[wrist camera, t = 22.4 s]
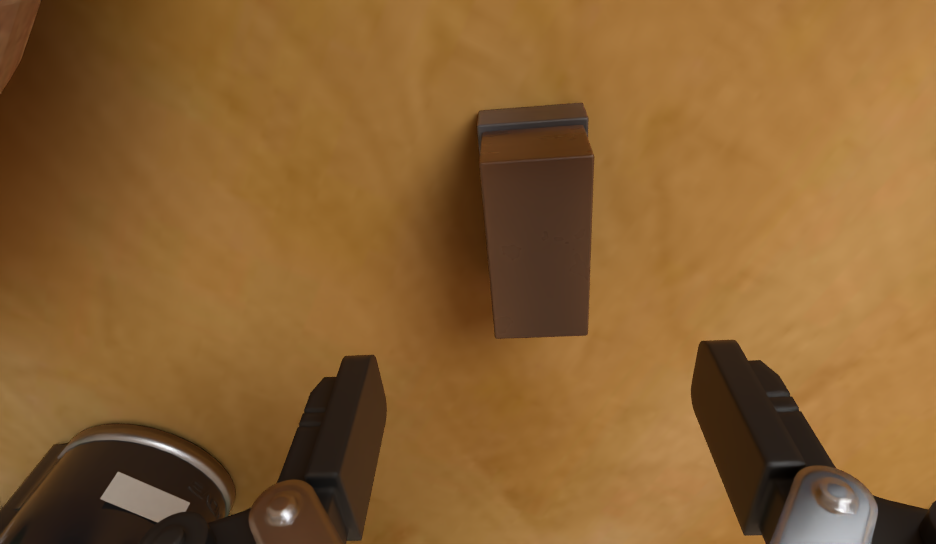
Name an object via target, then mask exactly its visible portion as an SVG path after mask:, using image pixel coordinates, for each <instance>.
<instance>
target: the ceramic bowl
mask: <svg viewBox="0 0 936 544" xmlns="http://www.w3.org/2000/svg"><path fill="white" fill-rule="evenodd" d="M40 3H41V0H0V94H1V92H2V91H3V89H4V88H5V86H6V85H7V83H8V82H9V80H10V79H11V77H12V75H13V73H14V72H15V70H16V68H17V66H18V65H19V63H20V61H21V59H22V56H23V53H24V50H25V47H26V44H27V41H28V38H29V35H30V32H31V29H32V26H33V23H34V20H35V17H36V14H37V12H38V9H39V6H40Z"/></svg>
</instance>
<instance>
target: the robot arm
mask: <svg viewBox="0 0 936 544" xmlns="http://www.w3.org/2000/svg"><path fill="white" fill-rule="evenodd" d="M691 399H692V405H693V409H694V412H695V415H696V417H697V420H698V422H699V425H700V427H701V430H702V432H703V434H704V437H705V439H706V442H707V444H708V447H709V449H710V452H711V454H712V457H713V459H714V462H715V464H716V467H717V469H718V472H719V474H720V477H721V479H722V482H723V484H724V487H725V489H726V492H727V494H728V497H729V499H730V502H731V504H732V507H733V509H734V512H735V514H736V516H737V519H738V521H739V524H740V526H741V529H742V531H743V534H744V535H762V536H763V538H764V540H765V543H766V544H936V501H935V502H934V503H933V504H932V505H931V507H930V509H929V510H927V509H923V508H919V507H915V506H910V505H906V504H902V503H898V502H894V501H889V500H886V499H882V498H879V497H876V496H874V495H872V494H871V492H870V491H869V490H868V489H867V488H866V487H865V486H864V485H863V484H862V483H861V482H860V481H859V480H857V479H856V478H854V477H853V476H851V475H850V474H848V473H846V472H844V471H841V470H839V469H836V467H835V466H834V464H833V463H832V461H831V459H830V458H829V456H828V455H827V453H826V451H825V450H824V448H823V446H822V445H821V443H820V442H819V440H818V438H817V437H816V435H815V433H814V432H813V430H812V429H811V427H810V425H809V424H808V422H807V420H806V419H805V417H804V416H803V414H802V412H799V407H798V406H797V404H796V402H795V401H794V399H793V398H792V397H790V393H789V391H788V389H787V388H786V386H785V385H784V383H783V381H782V380H781V378H780V376H779V375H778V374H776V373H775V372H774V371H773V370H772V369H770V368H769V367H768V366H767V365H765V364H764V363H763V362H762V361H761V360H755V361H748V360H747V358H746V356H745V355H744V353H743V351H742V349H741V348H740V346H739V344H738V343H737V342H736V341H735V340H715V341H701V342H700V344H699V347H698V352H697V357H696V363H695V368H694V374H693V379H692V385H691ZM386 412H387V406H386V397H385V393H384V388H383V384H382V380H381V376H380V372H379V368H378V364H377V360H376V357H375V356H374V355H357V356H345V357H344V358H343V359H342V362H341V365H340V368H339V371H338V374H337V377H324V378H323V379H322V381H321V382H320V383H319V384H318V385H317V386H316V387H315V388H314V390H313V391H312V392H311V393H310V396H309V399H308V401H307V404H306V407H305V409H304V413H303V415H302V417H301V420H300V423H299V427H298V428H297V431H296V434H295V436H294V439H293V442H292V444H291V447H290V450H289V452H288V455H287V458H286V460H285V463H284V466H283V469H282V471H281V474H280V477H279V479H278V481H277V483H276V484H274V485H272V486H271V487H269V488H268V489H266V490H265V491H264V492H263V493H262V494H261V495H260V496H259V497H258V498H257V499H256V501H255V502H254V504H253V506H252V507H251V508H249V509H247V510H245V511H243V512H240V513H237V514H234V515H231V516H228V515H229V512H230V510H231V508H232V506H233V503H234V500H235V487H234V484H233V482H232V479H231V477H230V476H229V474H228V473H227V471H226V470H225V469H224V467H223V466H222V465H221V464H220V463H219V462H218V461H217V460H215V459H214V458H213V457H212V456H211V455H209V454H208V453H207V452H205V451H204V450H202V449H201V448H199V447H198V446H196V445H194V444H192V443H190V442H188V441H186V440H184V439H182V438H180V437H178V436H175V435H173V434H170V433H167V432H164V431H161V430H157V429H153V428H149V427H144V426H139V425H131V424H106V425H99V426H95V427H91V428H88V429H86V430H84V431H82V432H80V433H78V434H77V435H76V436H75V437H73V438H72V440H71V441H70V442H69V443H68V444H55V445H53V446H52V448H51V449H50V450H49V451H48V453H47V454H46V455H45V456H44V457H43V459H42V460H41V461H40V462H39V464H38V465H37V466H36V467H35V468H34V470H33V471H32V472H31V473H30V475H29V476H28V477H27V478H26V480H25V481H24V482H23V483H22V484H21V486H20V487H19V488H18V489H17V491H16V492H15V493H14V494H13V496H12V497H11V498H10V499H9V500H8V502H7V503H6V504H5V505H4V507H3V508H2V509H1V510H0V544H346V541H361V539H362V535H363V530H364V525H365V520H366V515H367V510H368V505H369V500H370V496H371V491H372V486H373V481H374V476H375V471H376V466H377V461H378V457H379V452H380V447H381V442H382V437H383V432H384V427H385V422H386Z"/></svg>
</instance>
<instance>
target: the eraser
mask: <svg viewBox="0 0 936 544" xmlns="http://www.w3.org/2000/svg"><path fill="white" fill-rule="evenodd" d="M477 134H478V145H479V156H480V162H479V167H480V178H481V189H482V200H483V211H484V223H485V234H486V245H487V256H488V267H489V278H490V289H491V300H492V311H493V322H494V333H495V338H496V339H504V338H531V337H558V336H585V335H587V334H588V317H589V289H590V260H591V232H592V203H593V174H594V155H593V152H592V149H591V146H590V143H589V140H588V116H587V113H586V111H585V108H584V105H583V103H573V104H560V105H547V106H534V107H521V108H508V109H496V110H483V111H479V113H478V122H477Z"/></svg>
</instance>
